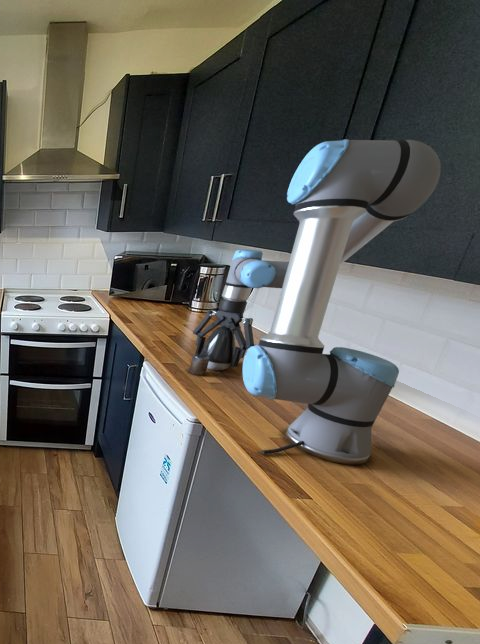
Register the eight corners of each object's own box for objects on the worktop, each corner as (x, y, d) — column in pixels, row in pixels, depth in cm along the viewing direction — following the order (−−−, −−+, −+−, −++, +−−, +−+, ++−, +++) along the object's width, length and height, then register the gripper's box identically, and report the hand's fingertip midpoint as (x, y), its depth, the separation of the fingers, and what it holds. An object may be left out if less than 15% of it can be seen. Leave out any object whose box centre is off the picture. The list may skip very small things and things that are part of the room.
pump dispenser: (236, 374, 137) (251, 331, 131) (206, 372, 137) (219, 329, 131) (220, 363, 146) (232, 322, 140) (191, 362, 146) (203, 321, 140)
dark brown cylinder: (199, 376, 133) (204, 360, 131) (185, 371, 137) (190, 355, 135) (208, 374, 136) (213, 357, 133) (193, 369, 140) (198, 353, 137)
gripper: (281, 305, 124) (258, 370, 133) (204, 291, 143) (188, 348, 151) (269, 308, 120) (246, 374, 129) (192, 293, 139) (177, 351, 148)
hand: (215, 360), depth 140 cm, fingers open, 12 cm apart
